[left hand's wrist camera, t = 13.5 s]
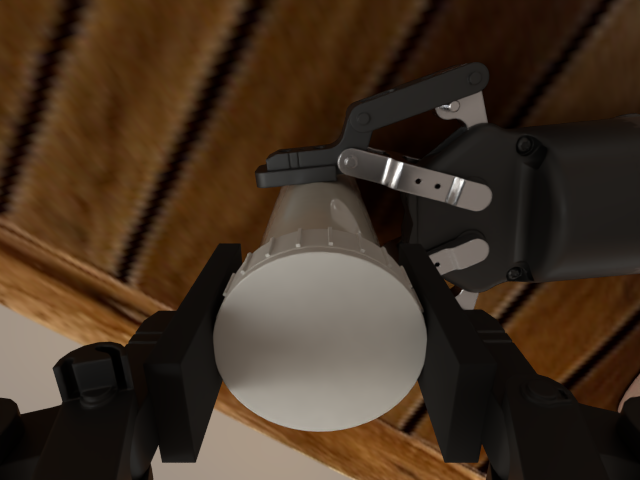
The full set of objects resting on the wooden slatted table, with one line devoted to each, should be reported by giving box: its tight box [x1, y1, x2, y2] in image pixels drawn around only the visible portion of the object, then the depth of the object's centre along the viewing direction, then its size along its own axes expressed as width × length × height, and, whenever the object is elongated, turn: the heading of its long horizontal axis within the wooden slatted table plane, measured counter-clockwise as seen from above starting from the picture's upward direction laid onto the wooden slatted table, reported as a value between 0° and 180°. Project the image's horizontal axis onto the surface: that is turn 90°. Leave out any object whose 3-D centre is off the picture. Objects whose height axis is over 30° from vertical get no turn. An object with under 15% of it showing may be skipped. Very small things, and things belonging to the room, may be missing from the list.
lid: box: [213, 227, 427, 431], centre depth 11 cm, size 6×6×2 cm
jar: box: [259, 174, 381, 248], centre depth 18 cm, size 5×5×16 cm
